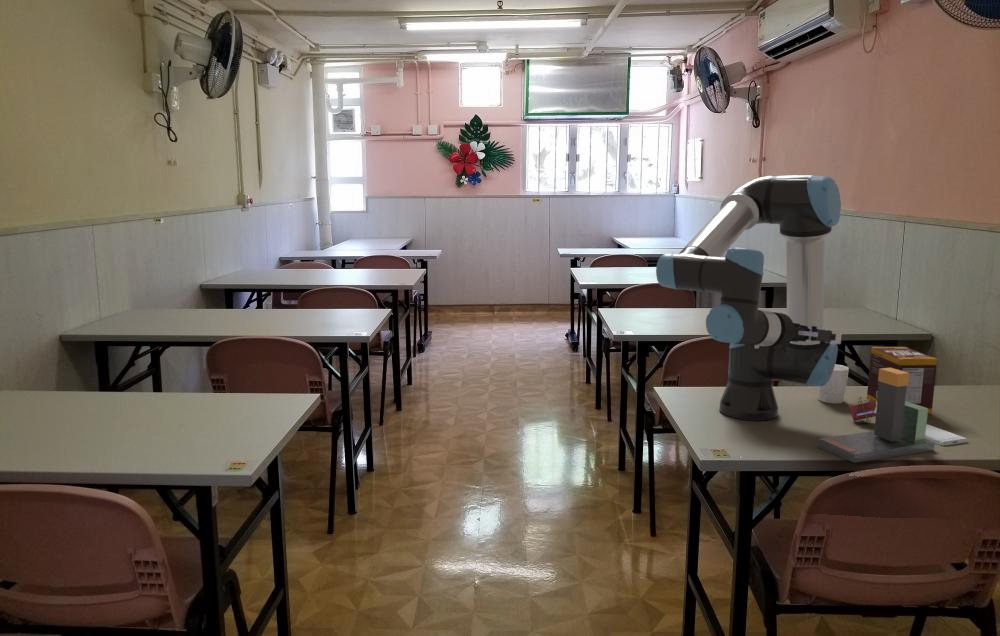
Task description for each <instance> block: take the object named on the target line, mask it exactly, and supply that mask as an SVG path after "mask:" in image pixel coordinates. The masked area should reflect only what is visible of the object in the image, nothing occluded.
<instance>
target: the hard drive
mask: <svg viewBox="0 0 1000 636" xmlns="http://www.w3.org/2000/svg"><path fill="white" fill-rule="evenodd" d="M925 439H927V440H930V441H932V442H935V444H936V445H939V446H941V445H942V446H943V447H945V446H950V445H958V444H964V443H968V442H969V439H968V438H966V437H964V436H961V435H958V434H955V433H953V432H950V431H947V430H944V429H942V428H939V427H936V426H933V425H931V424H928V423H926V432H925ZM944 445H945V446H944Z"/></svg>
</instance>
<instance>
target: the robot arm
mask: <svg viewBox="0 0 1000 636" xmlns="http://www.w3.org/2000/svg"><path fill="white" fill-rule="evenodd" d="M841 203H842V202H841V195H840V190H839V186H838V184H837V182H836V181H835V180H834V179H833V178H832V177H830V176H828V175H827V176H826V175H825V176H823V175H816V174H815V175H814V174H807V175H806V174H804V175H802V174H801V175H766V176H761V177H756V178H755V179H752V180H749V181H748V182H746V183H744V184H742V185H740V186H739V187H737V188H735V189H734V190H733V191H731V192H730V193H729V194H728V195H727V196H726V197H725V198H724V199H723V200H722V202H721V204H720V207H719V210H718V212H716V214H715V215H714V216H713V217H711V219H710V220H709V221H708V222H707V223H706V224H705V225H704V226H703V227H702V228H701V230H699V231H698V233H697V234H695V236H694V237H693V238H692V239H691V240H690V241H689V242H688V243H687V244H686V245H685V246H684V247H683V249H681V250H680V252H678V253H675V252H672V253H664V254H662V255H661V256H660V257H659V258H658V260H657V263H656V268H655V274H656V275H655V276H656V281H657V282H658V284H659V286H661V287H663V288H668V289H674V290H684V291H686V290H687V291H695V292H704V293H705V292H706V293H716V294H720V298H719V299H720V300H719V301H720V302H719V304H717V305H714V306H713V307H712V308H711V309H710V310H709V313H708V314H707V316H706V318H705V328H706V332H707V334H708V335H709V336H710V337H711V338H712V339H713V340H714V341H715V340H716V341H717V342H721V343H728V344H729V346H728V349H729V355H728V373H727V384H726V386H725V389H724V390H723V393H722V396H721V398H720V401H719V411H720V413H722V414H724V415H725V416H728V417H731V418H735V419H739V420H748V421H768V420H772V419H775V418H777V417H778V413H779V405H778V402H777V398H776V395H775V390H774V387H773V386H774V380H776V381H782V382H788V383H794V384H799V385H805V386H813V387H814V386H815V387H818V386H823V385H825V384H826V383H827V382H828V381H829V379H830V377H831V375H832V372H833V370H834V366H835V364H836V361H837V358H838V351H839V350H838V349H839V348H838V345H841V343H842V335H843V332H842V331H834V330H830V329H826V328H824V300H825V299H824V298H825V297H824V295H825V290H824V289H825V287H824V286H825V238H826V237H827V236H829V234H831V233H832V230H833V229H832V228H833V227H834V226H837V225H838V223H839V221H840V217H841V210H842V204H841ZM760 224H769V225H779V234H780V236H782V237H784V238H785V240H786V314H785V313H782V312H775V311H769V310H763V309H759V302H760V295H761V289H762V282H763V276H764V264H765V263H764V261H765V255H764V253H763V252H762V251H760V250H757V249H753V248H744V247H732V246H733V244H734V243H735V242H736V241H737V239H739V238H740V236H741V235H742V234H743V233H744V231H747V230H750V229H752V228H754V227H755V225H760ZM724 255H725V256H724Z"/></svg>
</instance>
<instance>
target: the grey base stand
mask: <svg viewBox="0 0 1000 636" xmlns="http://www.w3.org/2000/svg"><path fill="white" fill-rule="evenodd" d="M928 415H929V414H928V408H925V407H922V406H919V405H916V404H913V403H910V402H907V401H905V406H904V416H903V425H902V435H901V440H897V441H889V440H886V439H884V438H881V437H879V436H876V435H874V430H871V431H864V432H857V433H849V434H843V435H841V434H840V435H835V436H830V437H829V436H828V437H820V438H818V445H817V447H819V448H820V449H822V450H824V451H828V452H830V453H831V454H834V455H836V456H838V457H839V458H842V459H845V460H847V461H848V462H851V463H854V464H855V463H862V462H868V461H875V460H880V459H887V458H892V457H893V458H894V457H900V456H901V457H902V456H907V455H912V454H918V453H919V454H920V453H925V452H926V453H927V452H933V451H932V450H934V451H935V444H936V443H935V442H932V441H930V440H927V439H925V432H926V424H928V423H927V420H928Z"/></svg>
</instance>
